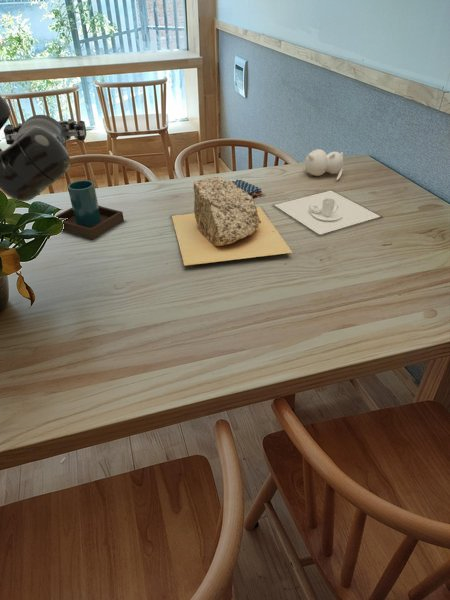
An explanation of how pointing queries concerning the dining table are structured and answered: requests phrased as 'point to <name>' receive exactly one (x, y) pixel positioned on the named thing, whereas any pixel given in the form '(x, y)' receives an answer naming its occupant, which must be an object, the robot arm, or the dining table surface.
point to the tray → (107, 222)
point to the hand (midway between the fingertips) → (49, 125)
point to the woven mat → (248, 188)
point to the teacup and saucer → (326, 212)
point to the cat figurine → (324, 163)
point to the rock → (225, 226)
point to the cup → (84, 203)
